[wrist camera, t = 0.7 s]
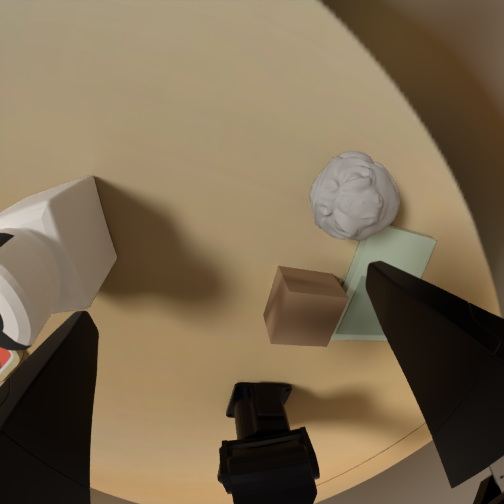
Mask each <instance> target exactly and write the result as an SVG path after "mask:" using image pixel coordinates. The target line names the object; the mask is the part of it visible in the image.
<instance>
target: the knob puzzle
mask: <svg viewBox="0 0 504 504" xmlns="http://www.w3.org/2000/svg"><path fill="white" fill-rule="evenodd" d="M22 357H23V350H19V351H11V350H7V349H3V348H1V347H0V381H2V380H4V379H5V378H6V377H7V376H8V374H9V373H10V372H11V371H12V370H13V369H14V368H15V367H16V366H17V365H18V364H19V362H20V360H21V359H22Z"/></svg>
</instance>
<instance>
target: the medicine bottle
mask: <svg viewBox="0 0 504 504" xmlns="http://www.w3.org/2000/svg"><path fill="white" fill-rule="evenodd" d="M116 260H117V255H116V252H115V249H114V246H113V243H112V240H111V237H110V234H109V230H108V227H107V224H106V221H105V217H104V214H103V210H102V207H101V203H100V199H99V196H98V192H97V188H96V184H95V180H94V178H93V177H92V176H86V177H83V178H80V179H77V180H73V181H70V182H67V183H64V184H61V185H58V186H56V187H53V188H50V189H47V190H44V191H42V192H39V193H36V194H33V195H31V196H28V197H26V198H24V199H22V200H21V201H19V202H17V203H15V204H14V205H12V206H10V207H9V208H7V209H5V210H4V211H2V212H0V347H1V348H3V349H7V350H11V351H19V350H25V349H27V348H29V347H30V346H32V345H33V343H34V342H35V340H36V338H37V337H38V335H39V333H40V332H41V330H42V328H43V327H44V325H45V323H46V322H47V320H48V319H49V317H50V315H51V314H52V313H60V312H68V311H75V310H83V309H88V308H89V307H90V306H91V304H92V302H93V300H94V298H95V297H96V295H97V293H98V291H99V289H100V287H101V286H102V284H103V282H104V280H105V279H106V277H107V275H108V273H109V272H110V270H111V268H112V266H113V265H114V263H115V261H116Z"/></svg>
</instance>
